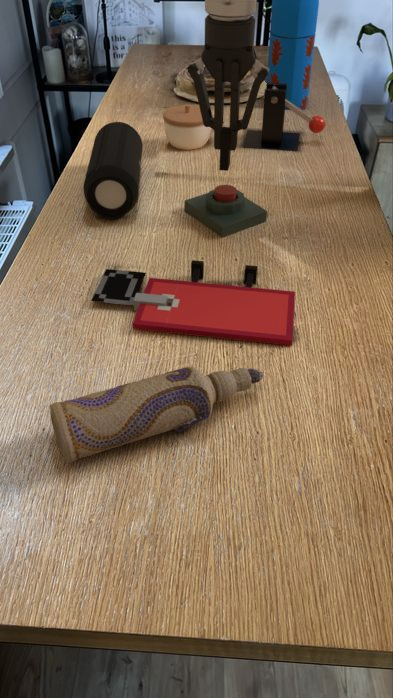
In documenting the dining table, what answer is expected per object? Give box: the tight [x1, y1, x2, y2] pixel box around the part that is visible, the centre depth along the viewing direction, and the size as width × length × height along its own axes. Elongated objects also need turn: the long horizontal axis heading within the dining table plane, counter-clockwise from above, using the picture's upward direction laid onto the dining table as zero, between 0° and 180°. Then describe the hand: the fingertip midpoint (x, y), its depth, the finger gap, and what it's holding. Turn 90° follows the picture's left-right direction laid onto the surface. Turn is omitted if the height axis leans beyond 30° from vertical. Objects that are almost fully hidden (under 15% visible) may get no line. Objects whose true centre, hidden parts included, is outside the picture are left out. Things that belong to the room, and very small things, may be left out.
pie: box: [172, 64, 267, 104], centre depth 162 cm, size 28×27×5 cm
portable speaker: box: [82, 121, 144, 220], centre depth 113 cm, size 26×10×10 cm, turn 2°
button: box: [213, 184, 238, 203], centre depth 106 cm, size 4×4×2 cm
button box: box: [183, 189, 268, 239], centre depth 108 cm, size 12×10×4 cm
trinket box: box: [162, 104, 212, 150], centre depth 129 cm, size 11×11×9 cm
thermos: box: [266, 0, 320, 111], centre depth 144 cm, size 11×11×25 cm
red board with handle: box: [90, 259, 296, 346], centre depth 88 cm, size 30×3×15 cm
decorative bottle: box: [49, 365, 264, 463], centre depth 69 cm, size 26×8×7 cm, turn 112°
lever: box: [272, 86, 326, 134], centre depth 127 cm, size 14×4×4 cm, turn 79°
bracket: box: [242, 83, 301, 152], centre depth 129 cm, size 12×10×13 cm
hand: (224, 167), depth 103 cm, fingers closed
